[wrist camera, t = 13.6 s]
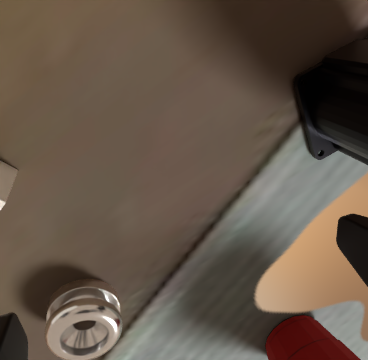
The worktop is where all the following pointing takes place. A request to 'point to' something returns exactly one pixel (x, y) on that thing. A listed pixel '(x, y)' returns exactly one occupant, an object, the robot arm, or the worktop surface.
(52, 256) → the worktop surface
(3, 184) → the bin
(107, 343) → the grooved metal pulley
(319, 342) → the plastic cup
